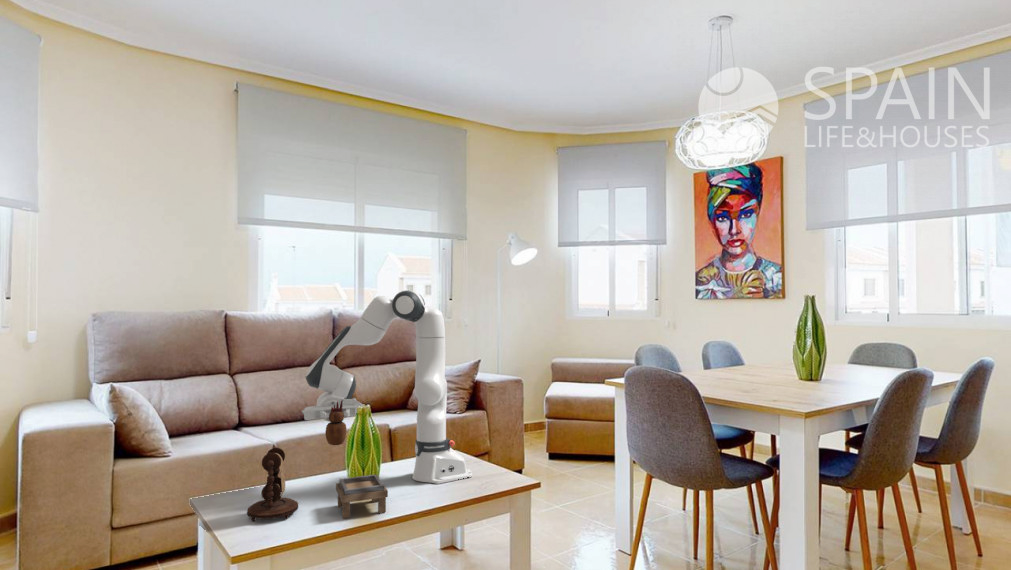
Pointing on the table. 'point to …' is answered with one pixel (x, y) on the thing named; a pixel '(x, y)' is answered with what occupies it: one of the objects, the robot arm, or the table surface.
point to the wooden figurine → (336, 426)
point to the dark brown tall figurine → (273, 490)
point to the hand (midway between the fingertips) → (336, 415)
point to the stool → (361, 492)
